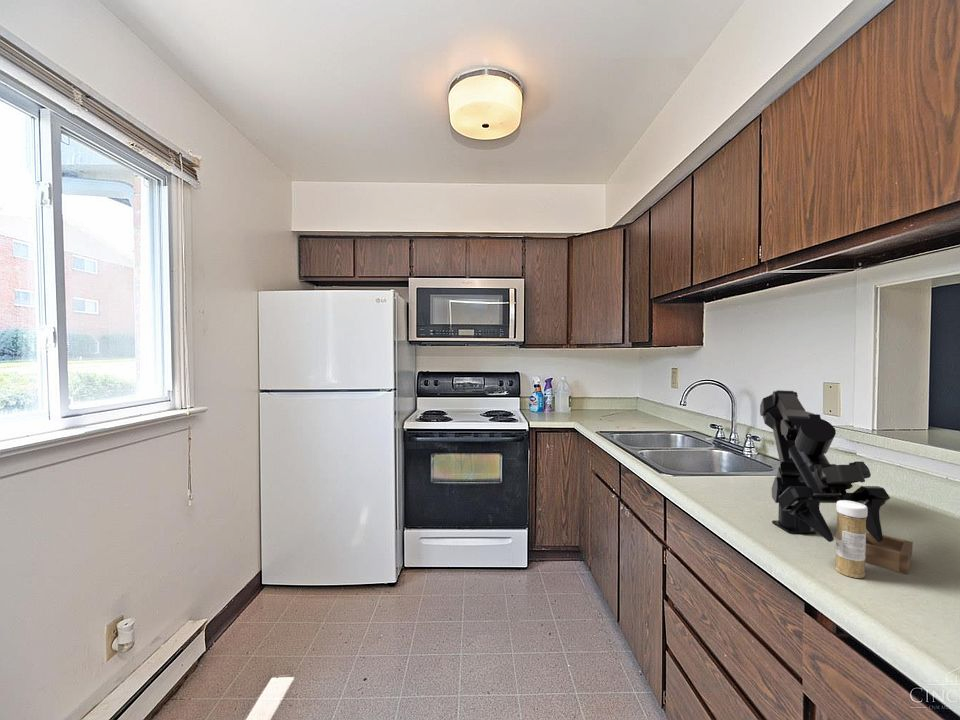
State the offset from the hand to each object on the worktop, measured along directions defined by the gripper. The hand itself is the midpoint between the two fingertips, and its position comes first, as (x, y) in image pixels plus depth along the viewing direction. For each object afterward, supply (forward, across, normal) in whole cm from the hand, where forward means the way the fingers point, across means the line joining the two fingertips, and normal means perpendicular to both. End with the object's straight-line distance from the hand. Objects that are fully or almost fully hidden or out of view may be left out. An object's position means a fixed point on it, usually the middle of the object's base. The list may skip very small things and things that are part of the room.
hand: (856, 541), depth 84 cm
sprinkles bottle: (+4, 0, +6) cm, 7 cm away
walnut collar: (0, +11, +10) cm, 15 cm away
